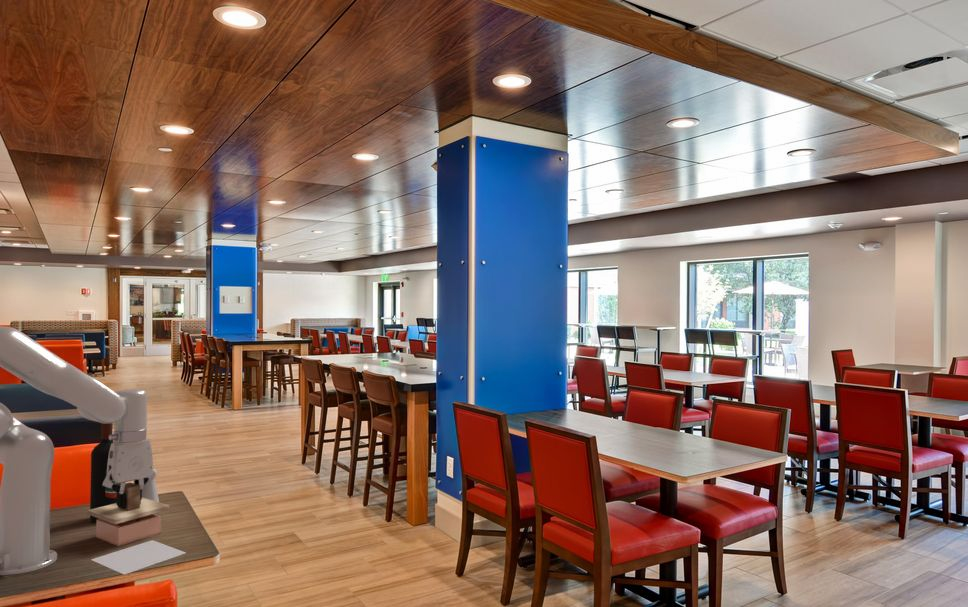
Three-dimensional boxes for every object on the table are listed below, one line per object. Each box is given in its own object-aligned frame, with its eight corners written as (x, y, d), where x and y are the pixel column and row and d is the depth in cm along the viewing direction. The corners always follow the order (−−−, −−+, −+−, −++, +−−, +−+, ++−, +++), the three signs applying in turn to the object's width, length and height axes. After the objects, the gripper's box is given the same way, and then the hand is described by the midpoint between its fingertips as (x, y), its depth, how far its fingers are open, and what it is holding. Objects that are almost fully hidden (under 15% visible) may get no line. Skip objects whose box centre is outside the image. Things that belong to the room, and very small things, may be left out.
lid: (115, 524, 154) (115, 496, 154) (87, 514, 161) (87, 487, 162) (169, 509, 166) (169, 483, 166) (140, 500, 173) (141, 475, 173)
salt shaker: (163, 510, 185) (164, 467, 185) (151, 517, 179) (152, 472, 179) (145, 509, 185) (145, 466, 185) (132, 516, 180) (133, 471, 180)
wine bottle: (101, 513, 182) (103, 411, 182) (126, 514, 181) (128, 411, 182) (83, 522, 174) (85, 415, 174) (109, 523, 174) (111, 416, 174)
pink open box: (118, 547, 156) (118, 527, 156) (96, 538, 162) (96, 519, 162) (160, 534, 165) (161, 515, 165) (138, 526, 171) (138, 508, 171)
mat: (124, 576, 140) (124, 574, 140) (90, 561, 148) (90, 559, 148) (186, 554, 152) (186, 552, 152) (152, 541, 160) (152, 540, 160)
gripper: (105, 443, 155) (103, 517, 155) (168, 432, 169) (167, 500, 169) (90, 439, 159) (88, 511, 159) (152, 429, 173) (151, 495, 173)
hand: (129, 505), depth 164 cm, fingers closed on lid, 3 cm apart
